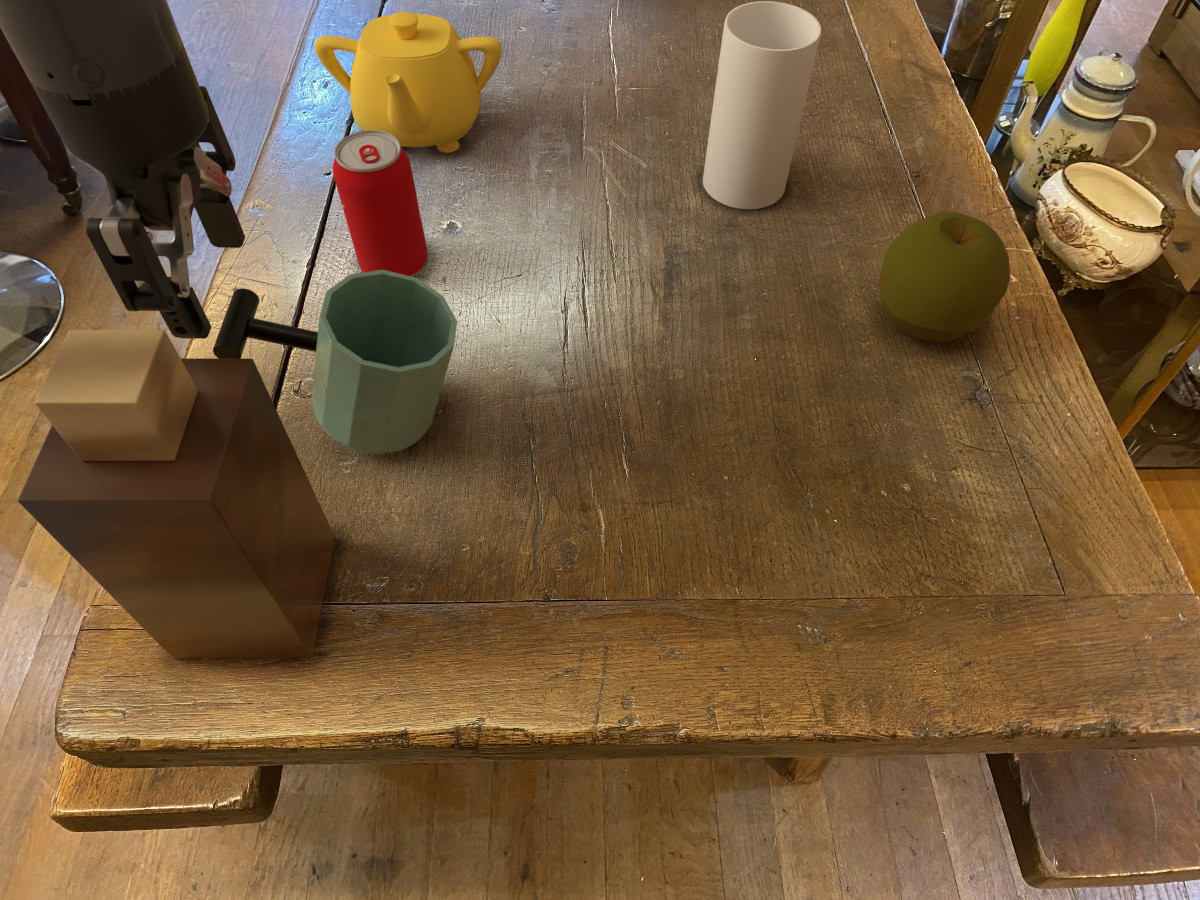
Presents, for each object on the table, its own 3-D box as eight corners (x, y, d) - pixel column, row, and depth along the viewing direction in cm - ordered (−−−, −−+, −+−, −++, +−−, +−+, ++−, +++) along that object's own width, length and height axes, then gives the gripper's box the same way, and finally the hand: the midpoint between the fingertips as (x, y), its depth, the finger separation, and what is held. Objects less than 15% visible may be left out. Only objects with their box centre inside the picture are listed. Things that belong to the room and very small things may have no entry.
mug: (208, 424, 61) (202, 331, 53) (240, 332, 66) (239, 235, 58) (424, 463, 65) (448, 382, 57) (438, 373, 70) (461, 288, 62)
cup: (687, 171, 86) (706, 13, 74) (755, 150, 89) (785, -7, 76) (731, 218, 82) (759, 59, 69) (801, 195, 85) (841, 37, 72)
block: (175, 461, 42) (136, 403, 38) (81, 461, 41) (32, 402, 38) (199, 390, 44) (164, 329, 40) (111, 390, 44) (68, 328, 40)
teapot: (322, 135, 89) (291, 22, 80) (426, 79, 96) (408, -32, 86) (411, 192, 84) (389, 78, 74) (514, 129, 90) (506, 16, 81)
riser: (312, 658, 56) (210, 500, 40) (172, 659, 55) (16, 501, 40) (335, 537, 61) (253, 357, 46) (208, 538, 61) (81, 357, 45)
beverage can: (419, 235, 80) (397, 119, 70) (436, 278, 77) (415, 163, 67) (353, 250, 79) (321, 134, 69) (367, 294, 75) (335, 180, 66)
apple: (876, 362, 72) (918, 262, 63) (854, 282, 77) (889, 180, 68) (994, 362, 72) (1053, 262, 63) (963, 282, 78) (1012, 180, 69)
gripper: (78, -21, 47) (186, 217, 60) (-36, 128, 39) (118, 368, 52) (214, -19, 47) (293, 219, 60) (130, 131, 39) (243, 369, 52)
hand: (212, 287), depth 56 cm, fingers open, 8 cm apart
